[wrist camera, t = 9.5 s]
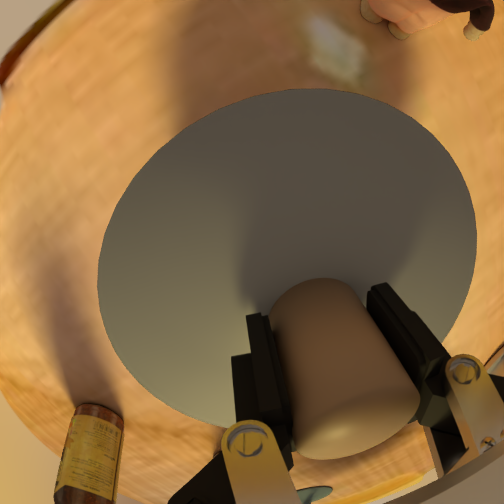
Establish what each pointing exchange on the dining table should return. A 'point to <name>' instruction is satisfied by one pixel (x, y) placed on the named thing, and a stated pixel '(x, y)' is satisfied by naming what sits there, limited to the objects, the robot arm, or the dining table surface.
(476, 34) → the grandmother figurine
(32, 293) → the dining table surface
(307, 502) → the cocktail glass
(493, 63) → the dining table surface
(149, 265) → the lid
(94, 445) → the sauce bottle
